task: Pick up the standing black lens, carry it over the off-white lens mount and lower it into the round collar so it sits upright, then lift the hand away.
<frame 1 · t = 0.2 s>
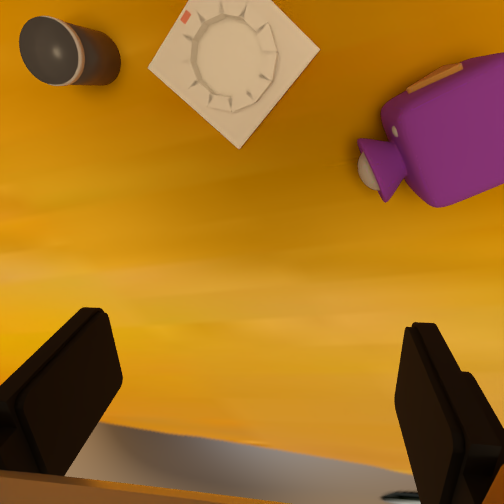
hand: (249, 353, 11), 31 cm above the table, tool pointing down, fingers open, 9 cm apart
lens mount: (232, 59, 36), on the table
lens: (97, 58, 38), on the table
toy camera: (420, 135, 36), on the table
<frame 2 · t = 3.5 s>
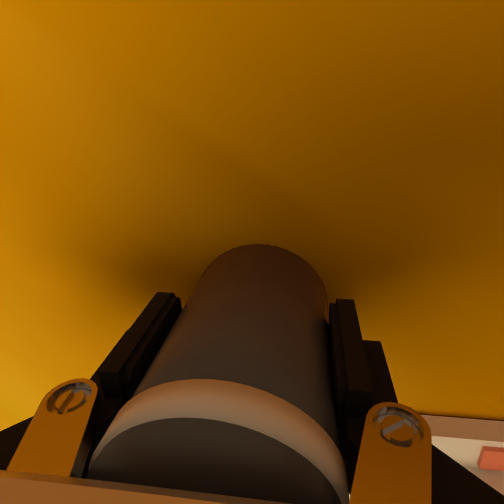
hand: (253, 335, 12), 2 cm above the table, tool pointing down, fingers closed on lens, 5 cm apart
lens: (261, 304, 14), on the table, touching gripper
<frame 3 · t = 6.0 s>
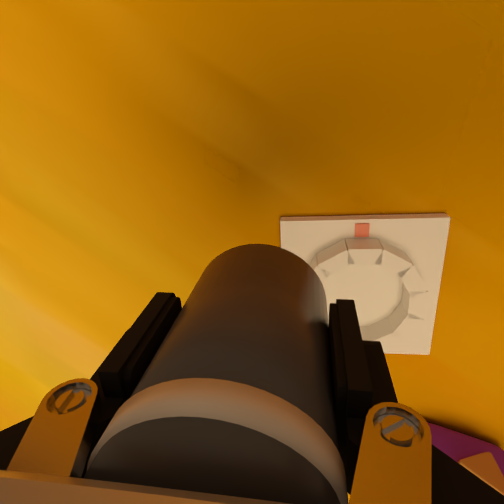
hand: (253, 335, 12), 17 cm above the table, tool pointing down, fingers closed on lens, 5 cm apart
lens mount: (356, 285, 30), on the table
lens: (260, 303, 14), point 15 cm above the table, touching gripper
toy camera: (419, 450, 36), on the table
when the fingers open (4 cm above the table, at t = 8.5 s): lens drops 1 cm, resting on lens mount.
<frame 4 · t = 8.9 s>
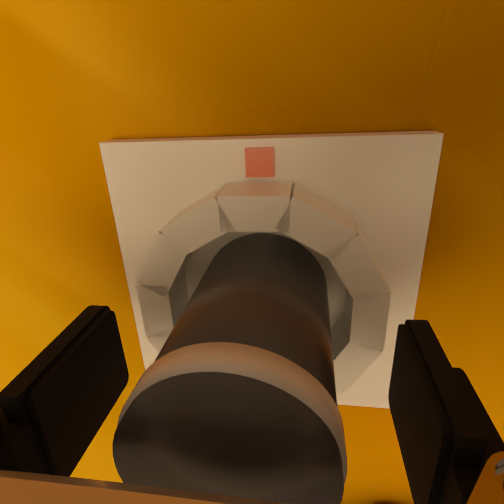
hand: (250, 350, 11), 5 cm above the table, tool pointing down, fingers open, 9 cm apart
lens mount: (266, 278, 16), on the table
lens: (265, 289, 15), point 1 cm above the table, touching lens mount
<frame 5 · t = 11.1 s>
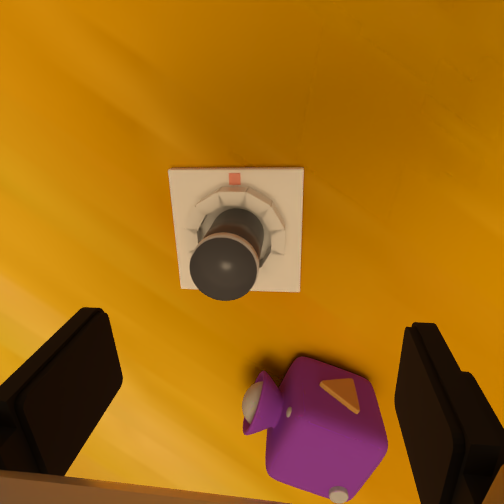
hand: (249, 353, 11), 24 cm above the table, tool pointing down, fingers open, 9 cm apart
lens mount: (238, 230, 35), on the table
lens: (237, 234, 34), point 1 cm above the table, touching lens mount
toy camera: (305, 386, 42), on the table
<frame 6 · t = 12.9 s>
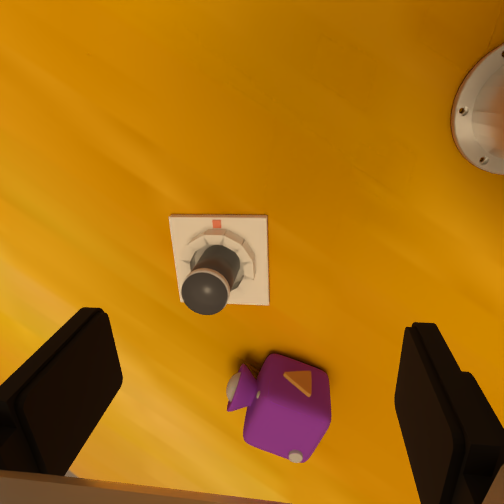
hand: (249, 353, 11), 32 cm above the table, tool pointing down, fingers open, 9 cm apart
lens mount: (222, 259, 47), on the table
lens: (220, 262, 46), point 1 cm above the table, touching lens mount
toy camera: (278, 376, 54), on the table
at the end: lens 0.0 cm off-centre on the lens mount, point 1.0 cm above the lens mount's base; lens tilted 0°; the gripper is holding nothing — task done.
